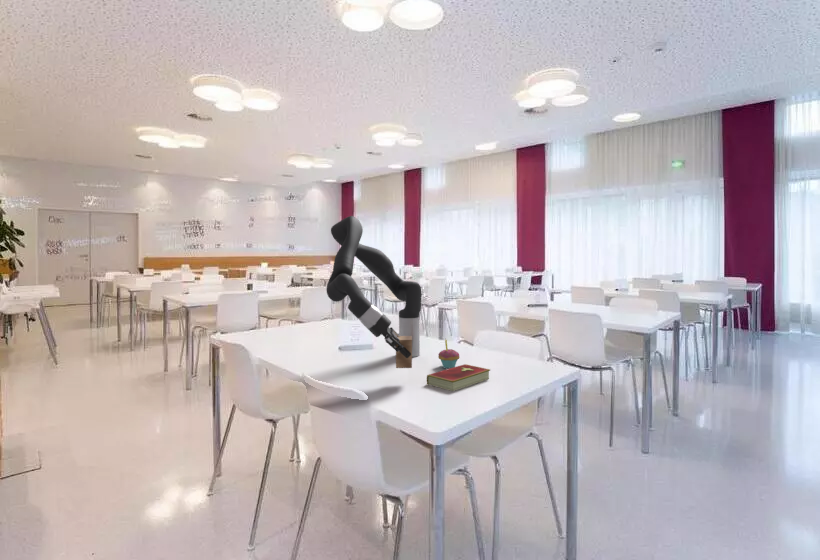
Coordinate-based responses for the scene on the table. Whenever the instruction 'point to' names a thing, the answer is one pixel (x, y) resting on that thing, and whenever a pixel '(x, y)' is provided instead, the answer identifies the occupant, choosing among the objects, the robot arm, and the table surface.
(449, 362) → the cupcake
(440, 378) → the hardcover book
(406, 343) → the block
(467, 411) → the table surface
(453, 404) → the table surface
